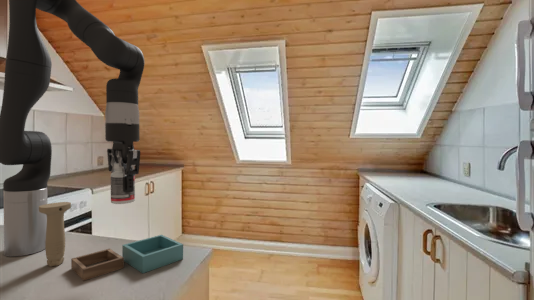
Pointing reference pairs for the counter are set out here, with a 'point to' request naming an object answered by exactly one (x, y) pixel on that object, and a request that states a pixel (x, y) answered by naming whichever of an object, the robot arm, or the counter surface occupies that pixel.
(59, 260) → the handle
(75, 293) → the counter surface
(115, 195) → the pill bottle
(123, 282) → the counter surface
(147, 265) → the tray
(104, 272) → the brown open box
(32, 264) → the counter surface
